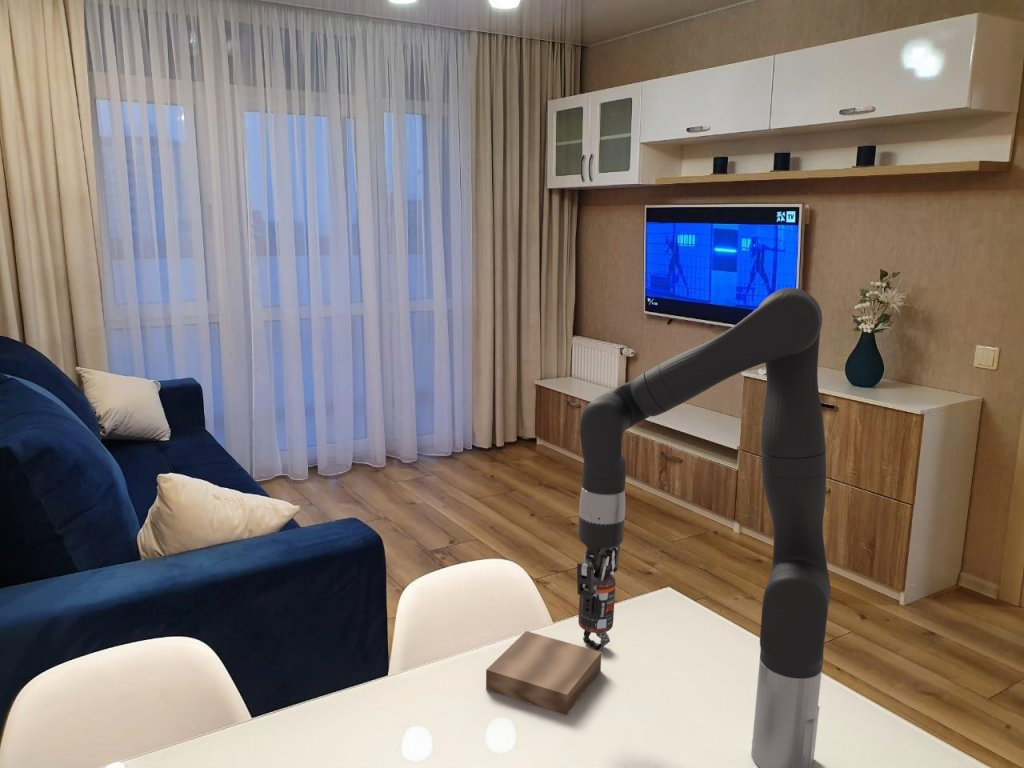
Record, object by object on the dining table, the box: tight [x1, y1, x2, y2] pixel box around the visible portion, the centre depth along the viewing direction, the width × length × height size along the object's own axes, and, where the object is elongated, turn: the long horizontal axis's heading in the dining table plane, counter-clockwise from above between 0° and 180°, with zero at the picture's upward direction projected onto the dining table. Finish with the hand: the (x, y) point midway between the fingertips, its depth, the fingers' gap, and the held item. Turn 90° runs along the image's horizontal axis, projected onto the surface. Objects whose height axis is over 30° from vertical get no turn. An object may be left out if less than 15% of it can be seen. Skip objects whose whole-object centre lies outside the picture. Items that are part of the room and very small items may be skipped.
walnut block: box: [485, 630, 602, 716], centre depth 152 cm, size 16×16×4 cm
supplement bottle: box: [577, 563, 616, 634], centre depth 139 cm, size 6×6×11 cm
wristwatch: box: [582, 630, 611, 651], centre depth 165 cm, size 3×5×5 cm
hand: (596, 606), depth 139 cm, fingers closed on supplement bottle, 6 cm apart
